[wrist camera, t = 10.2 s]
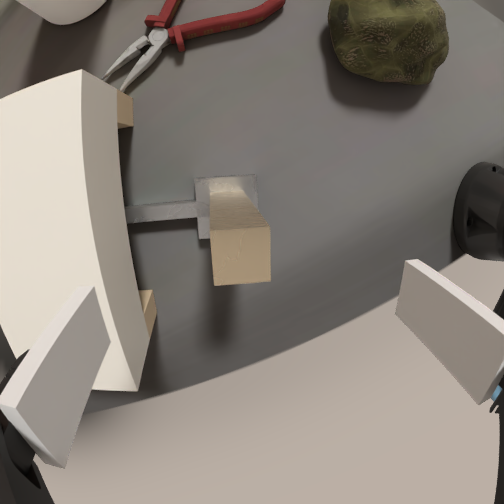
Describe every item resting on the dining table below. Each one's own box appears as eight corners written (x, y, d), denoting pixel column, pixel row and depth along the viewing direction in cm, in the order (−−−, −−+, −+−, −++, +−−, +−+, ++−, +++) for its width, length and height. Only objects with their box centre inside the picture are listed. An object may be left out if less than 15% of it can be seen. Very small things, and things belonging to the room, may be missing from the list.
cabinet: (132, 98, 25) (81, 69, 13) (157, 312, 33) (137, 391, 21) (27, 124, 23) (-49, 125, 11) (61, 314, 32) (18, 380, 19)
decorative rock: (414, 110, 30) (471, 119, 22) (307, 63, 26) (352, 48, 17) (429, 21, 24) (481, 14, 16) (329, -34, 20) (371, -66, 11)
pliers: (82, 61, 23) (73, 56, 20) (217, -46, 20) (218, -57, 17) (148, 121, 26) (142, 119, 24) (287, 7, 24) (293, -3, 21)
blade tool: (254, 154, 29) (295, 162, 15) (256, 248, 32) (292, 327, 18) (29, 183, 26) (-60, 216, 12) (44, 264, 29) (-25, 331, 15)
